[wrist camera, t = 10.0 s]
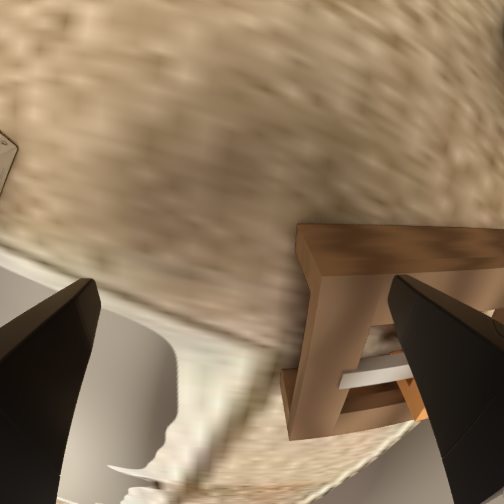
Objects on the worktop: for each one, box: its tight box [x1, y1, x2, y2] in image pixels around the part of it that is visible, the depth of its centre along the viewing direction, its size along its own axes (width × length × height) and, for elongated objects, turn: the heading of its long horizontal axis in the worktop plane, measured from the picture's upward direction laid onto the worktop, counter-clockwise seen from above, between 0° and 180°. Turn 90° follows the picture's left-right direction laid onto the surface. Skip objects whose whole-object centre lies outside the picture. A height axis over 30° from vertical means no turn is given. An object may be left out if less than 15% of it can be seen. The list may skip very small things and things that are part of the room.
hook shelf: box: [280, 224, 504, 441], centre depth 23 cm, size 20×16×7 cm
